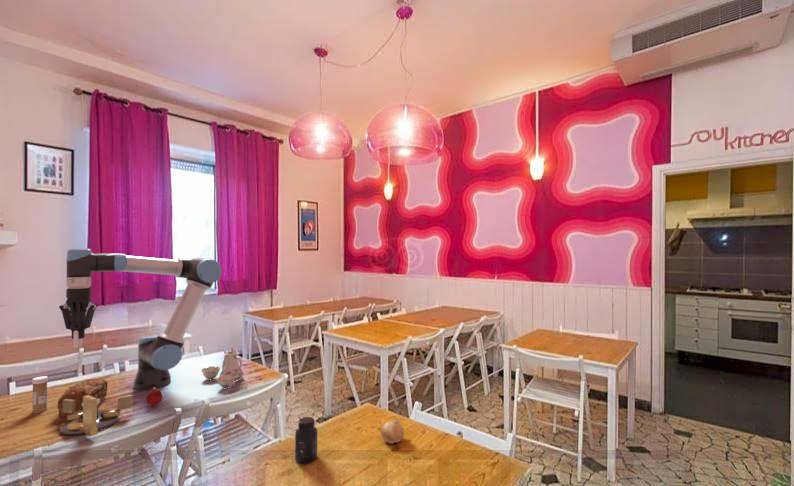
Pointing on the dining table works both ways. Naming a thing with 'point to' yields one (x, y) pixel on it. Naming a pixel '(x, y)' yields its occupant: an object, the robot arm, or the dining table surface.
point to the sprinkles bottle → (39, 394)
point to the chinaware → (226, 370)
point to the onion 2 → (392, 432)
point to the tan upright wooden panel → (86, 417)
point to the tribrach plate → (99, 426)
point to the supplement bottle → (306, 441)
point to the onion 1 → (154, 397)
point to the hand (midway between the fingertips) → (77, 346)
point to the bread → (83, 393)
